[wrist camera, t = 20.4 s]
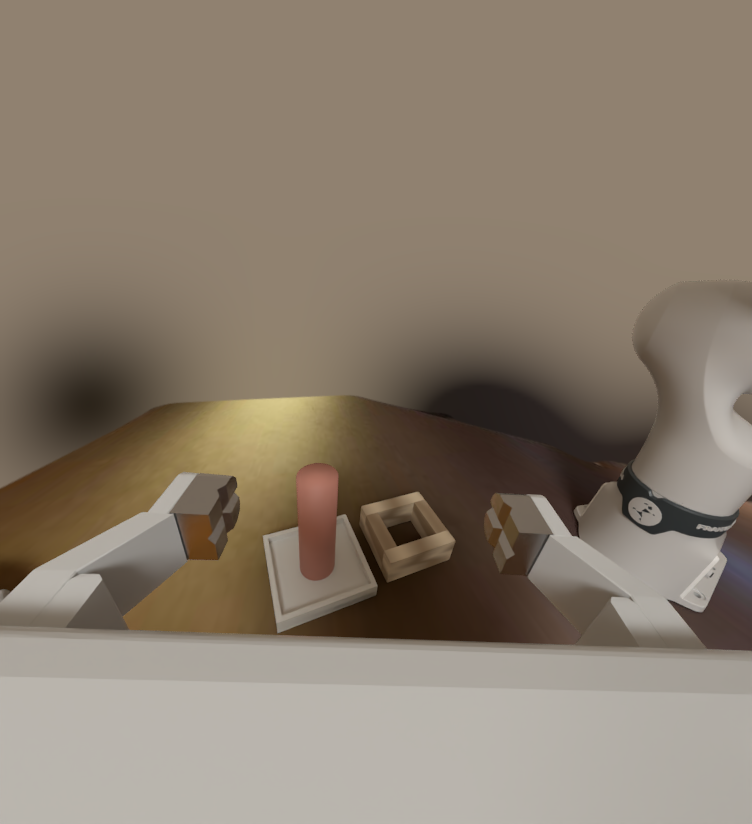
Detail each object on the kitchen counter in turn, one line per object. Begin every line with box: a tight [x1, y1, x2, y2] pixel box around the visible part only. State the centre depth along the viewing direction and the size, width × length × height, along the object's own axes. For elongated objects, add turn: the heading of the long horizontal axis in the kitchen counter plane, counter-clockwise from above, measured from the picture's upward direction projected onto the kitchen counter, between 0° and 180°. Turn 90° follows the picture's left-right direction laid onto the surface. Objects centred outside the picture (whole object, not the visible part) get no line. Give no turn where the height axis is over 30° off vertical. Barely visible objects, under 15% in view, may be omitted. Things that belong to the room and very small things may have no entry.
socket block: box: [359, 492, 455, 583], centre depth 46 cm, size 10×10×4 cm
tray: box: [263, 514, 378, 633], centre depth 41 cm, size 12×12×2 cm
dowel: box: [296, 463, 338, 581], centre depth 38 cm, size 4×4×15 cm
